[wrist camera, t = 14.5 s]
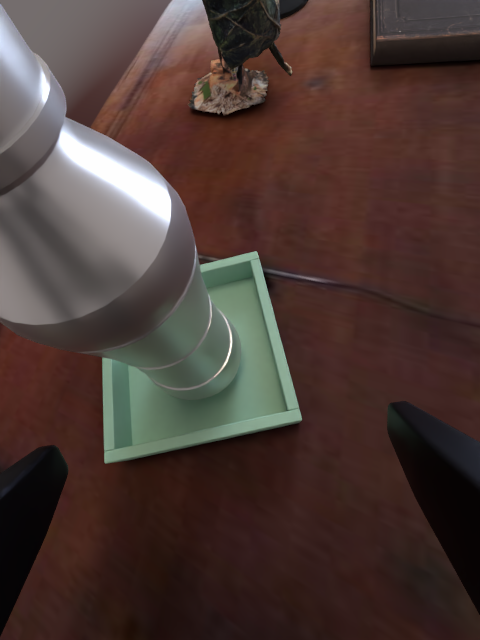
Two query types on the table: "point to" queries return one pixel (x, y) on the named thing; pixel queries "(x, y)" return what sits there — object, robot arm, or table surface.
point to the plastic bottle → (98, 243)
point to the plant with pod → (238, 54)
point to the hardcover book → (424, 31)
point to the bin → (220, 409)
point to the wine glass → (290, 7)
